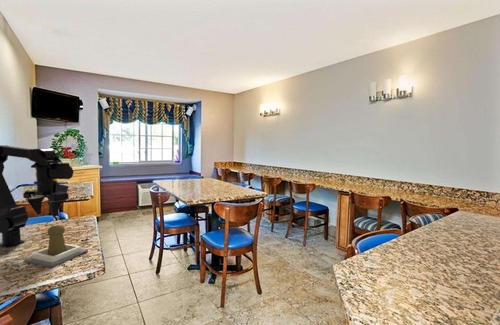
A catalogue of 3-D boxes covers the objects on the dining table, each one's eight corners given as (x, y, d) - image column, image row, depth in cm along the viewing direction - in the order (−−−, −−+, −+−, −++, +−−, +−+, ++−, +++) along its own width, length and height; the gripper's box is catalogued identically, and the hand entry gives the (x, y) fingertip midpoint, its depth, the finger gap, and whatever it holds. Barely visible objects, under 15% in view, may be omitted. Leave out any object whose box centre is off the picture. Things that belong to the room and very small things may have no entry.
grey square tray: (24, 261, 94) (24, 254, 94) (62, 246, 108) (62, 240, 108) (51, 267, 90) (51, 260, 90) (87, 251, 103) (87, 245, 103)
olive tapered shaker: (48, 259, 95) (47, 230, 94) (45, 254, 99) (44, 226, 98) (68, 254, 99) (67, 226, 98) (64, 249, 103) (63, 222, 102)
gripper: (80, 177, 112) (81, 212, 113) (49, 175, 117) (50, 208, 118) (53, 181, 101) (55, 219, 102) (21, 178, 107) (23, 215, 108)
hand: (46, 215), depth 108 cm, fingers open, 9 cm apart
